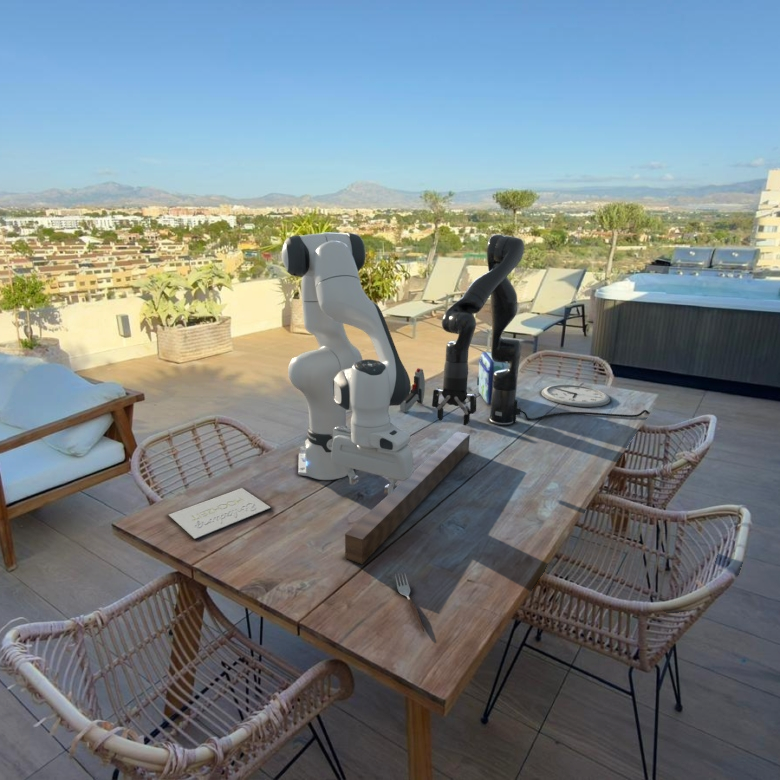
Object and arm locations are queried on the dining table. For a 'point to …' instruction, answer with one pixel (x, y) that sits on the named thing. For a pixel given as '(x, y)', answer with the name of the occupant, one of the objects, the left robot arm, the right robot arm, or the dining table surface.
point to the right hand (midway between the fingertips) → (453, 422)
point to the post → (403, 500)
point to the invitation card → (218, 512)
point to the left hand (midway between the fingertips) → (371, 488)
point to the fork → (406, 591)
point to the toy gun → (415, 392)
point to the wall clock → (575, 395)
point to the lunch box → (487, 375)
